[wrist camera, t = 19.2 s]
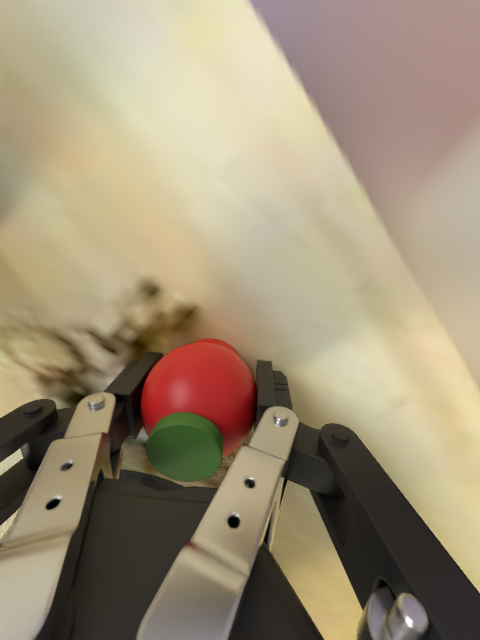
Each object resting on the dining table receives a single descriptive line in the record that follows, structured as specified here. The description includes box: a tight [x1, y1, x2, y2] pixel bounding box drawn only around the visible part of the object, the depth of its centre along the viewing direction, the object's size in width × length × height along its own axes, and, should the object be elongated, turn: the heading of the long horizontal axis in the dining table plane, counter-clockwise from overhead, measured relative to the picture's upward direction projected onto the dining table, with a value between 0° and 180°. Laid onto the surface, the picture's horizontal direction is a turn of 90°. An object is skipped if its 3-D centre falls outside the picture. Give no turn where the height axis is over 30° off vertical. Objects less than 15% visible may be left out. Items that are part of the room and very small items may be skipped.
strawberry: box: [140, 339, 257, 482], centre depth 11 cm, size 5×5×6 cm
